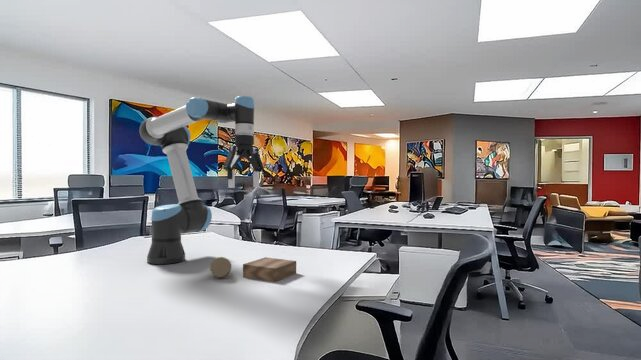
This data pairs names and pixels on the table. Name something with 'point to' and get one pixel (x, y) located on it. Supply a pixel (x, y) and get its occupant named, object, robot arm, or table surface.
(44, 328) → the table surface
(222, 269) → the brown round piece
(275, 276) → the riser block
